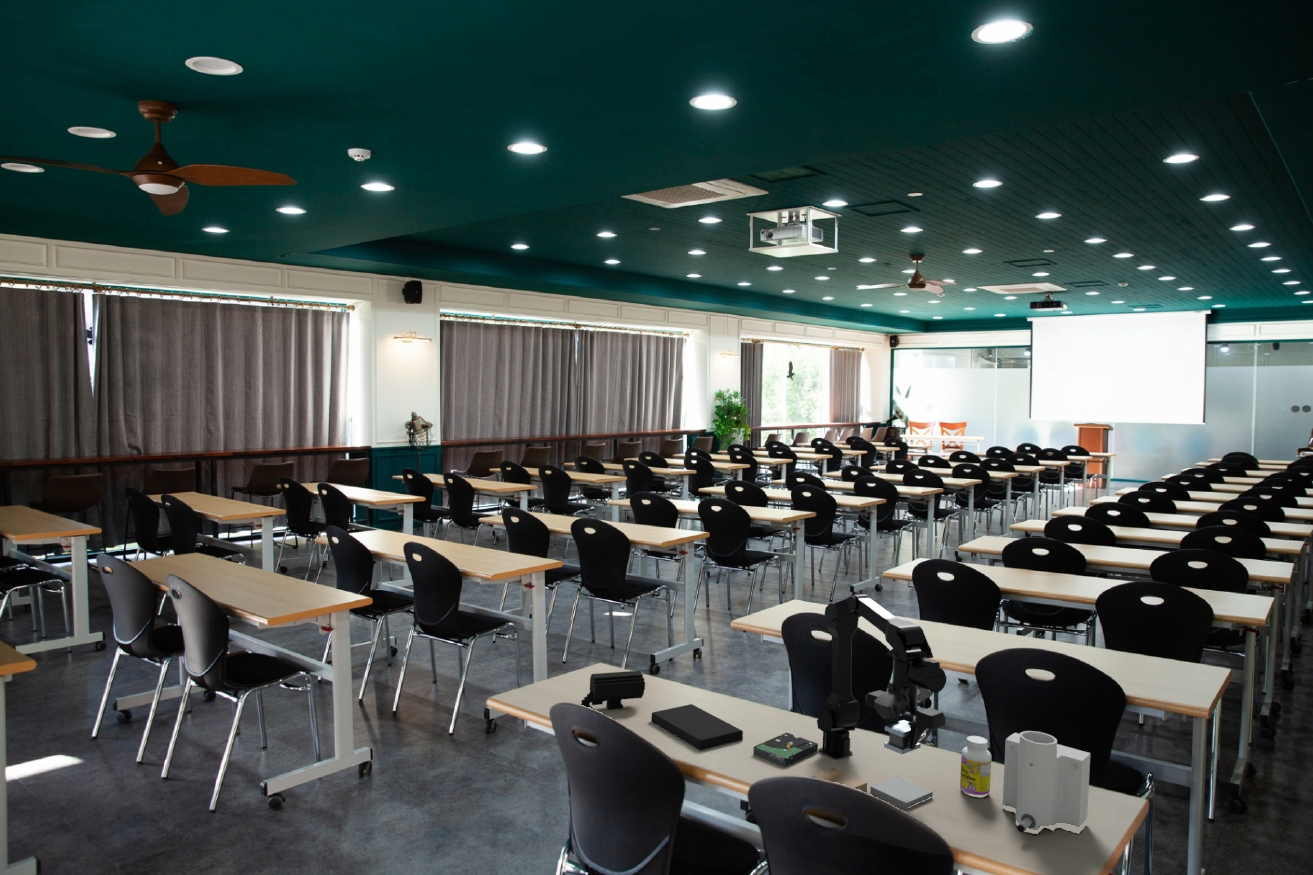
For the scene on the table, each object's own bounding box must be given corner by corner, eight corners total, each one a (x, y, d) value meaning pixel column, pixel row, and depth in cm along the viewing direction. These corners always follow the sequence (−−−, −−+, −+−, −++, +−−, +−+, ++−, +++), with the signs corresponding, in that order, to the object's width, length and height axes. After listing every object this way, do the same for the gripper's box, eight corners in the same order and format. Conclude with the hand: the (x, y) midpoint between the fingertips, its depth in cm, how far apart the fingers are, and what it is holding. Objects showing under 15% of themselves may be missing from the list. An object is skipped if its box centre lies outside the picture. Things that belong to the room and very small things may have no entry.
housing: (902, 740, 203) (903, 720, 202) (920, 747, 199) (921, 726, 198) (884, 747, 198) (884, 726, 198) (901, 754, 194) (902, 733, 194)
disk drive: (785, 742, 230) (752, 756, 220) (786, 731, 230) (752, 745, 220) (818, 753, 223) (785, 769, 213) (818, 743, 223) (786, 758, 212)
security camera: (579, 706, 251) (580, 673, 250) (639, 701, 256) (640, 669, 256) (584, 714, 244) (585, 680, 244) (645, 709, 250) (646, 676, 249)
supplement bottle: (953, 788, 204) (956, 735, 203) (975, 785, 206) (978, 732, 205) (973, 801, 197) (975, 746, 197) (995, 797, 200) (998, 743, 199)
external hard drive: (700, 752, 221) (700, 740, 221) (651, 723, 241) (651, 712, 240) (742, 741, 229) (742, 730, 229) (691, 714, 249) (692, 703, 248)
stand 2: (870, 792, 200) (870, 786, 200) (896, 782, 206) (896, 776, 206) (906, 809, 192) (906, 803, 192) (932, 798, 198) (932, 791, 198)
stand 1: (811, 783, 204) (812, 775, 204) (834, 775, 209) (834, 767, 209) (844, 799, 196) (844, 791, 196) (866, 791, 201) (867, 782, 201)
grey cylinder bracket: (1087, 825, 187) (1091, 735, 187) (1060, 857, 173) (1065, 760, 173) (1011, 800, 198) (1015, 716, 197) (981, 829, 184) (985, 738, 183)
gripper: (851, 674, 200) (848, 739, 201) (918, 697, 186) (915, 767, 186) (881, 666, 207) (878, 729, 208) (948, 688, 192) (945, 756, 193)
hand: (902, 745), depth 199 cm, fingers closed on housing, 5 cm apart
